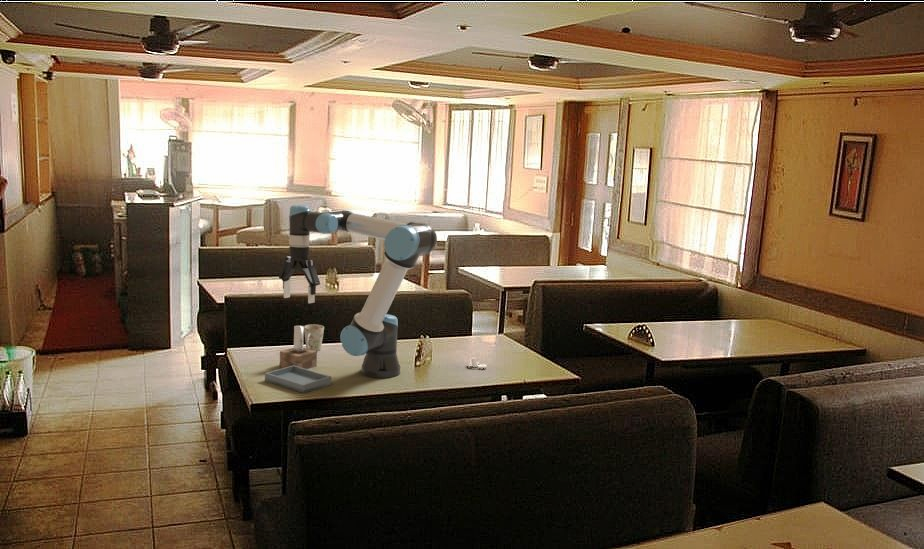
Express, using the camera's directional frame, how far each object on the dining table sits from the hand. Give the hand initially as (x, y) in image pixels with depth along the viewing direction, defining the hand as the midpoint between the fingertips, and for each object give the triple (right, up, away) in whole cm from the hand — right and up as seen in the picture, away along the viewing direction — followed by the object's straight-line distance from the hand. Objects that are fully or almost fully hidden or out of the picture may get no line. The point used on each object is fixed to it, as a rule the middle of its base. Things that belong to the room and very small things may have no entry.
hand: (298, 300), depth 294 cm
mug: (0, -22, +26) cm, 35 cm away
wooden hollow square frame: (-1, -26, +4) cm, 26 cm away
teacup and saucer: (+68, -29, +13) cm, 75 cm away
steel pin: (-1, -26, +4) cm, 26 cm away
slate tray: (+3, -30, -16) cm, 34 cm away
